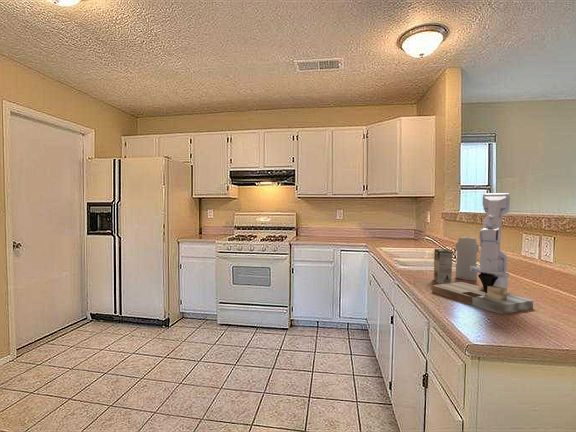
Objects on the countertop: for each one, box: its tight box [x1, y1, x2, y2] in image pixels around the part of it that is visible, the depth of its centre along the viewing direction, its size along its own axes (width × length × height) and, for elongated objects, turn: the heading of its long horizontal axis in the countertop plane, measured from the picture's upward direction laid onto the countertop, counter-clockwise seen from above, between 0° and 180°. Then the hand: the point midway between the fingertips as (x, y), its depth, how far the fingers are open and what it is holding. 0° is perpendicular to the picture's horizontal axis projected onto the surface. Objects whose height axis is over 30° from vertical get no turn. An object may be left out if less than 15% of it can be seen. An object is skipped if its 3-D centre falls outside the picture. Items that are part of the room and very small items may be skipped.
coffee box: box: [433, 248, 453, 285], centre depth 155 cm, size 9×6×16 cm
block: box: [487, 285, 508, 300], centre depth 119 cm, size 4×4×4 cm
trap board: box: [431, 281, 534, 315], centre depth 126 cm, size 18×30×3 cm, turn 23°
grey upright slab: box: [455, 236, 480, 282], centre depth 162 cm, size 11×4×22 cm, turn 51°
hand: (487, 292), depth 123 cm, fingers closed
